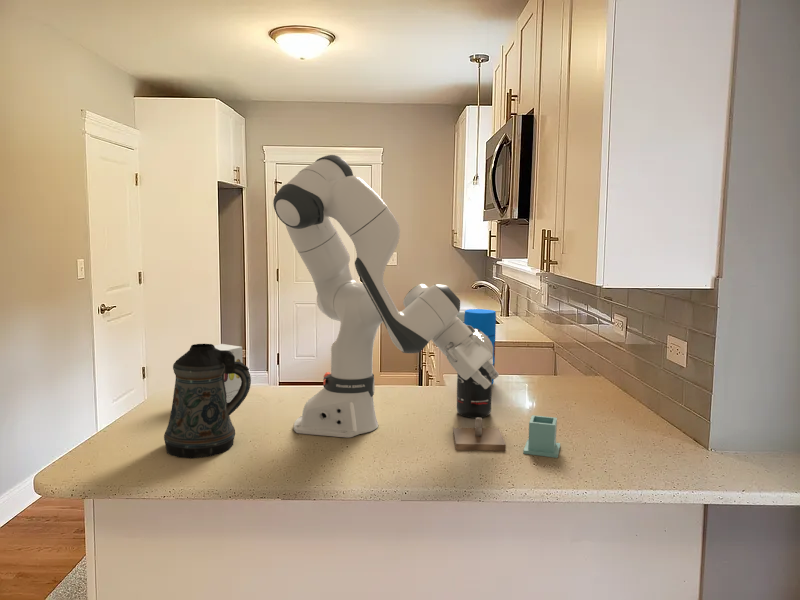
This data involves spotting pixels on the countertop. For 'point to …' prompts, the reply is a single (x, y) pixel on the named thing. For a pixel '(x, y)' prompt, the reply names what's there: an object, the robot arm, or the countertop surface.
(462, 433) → the walnut post base
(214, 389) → the beer stein
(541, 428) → the flanged sleeve
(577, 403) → the countertop surface
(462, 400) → the black white cylinder
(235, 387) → the supplement box
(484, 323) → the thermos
